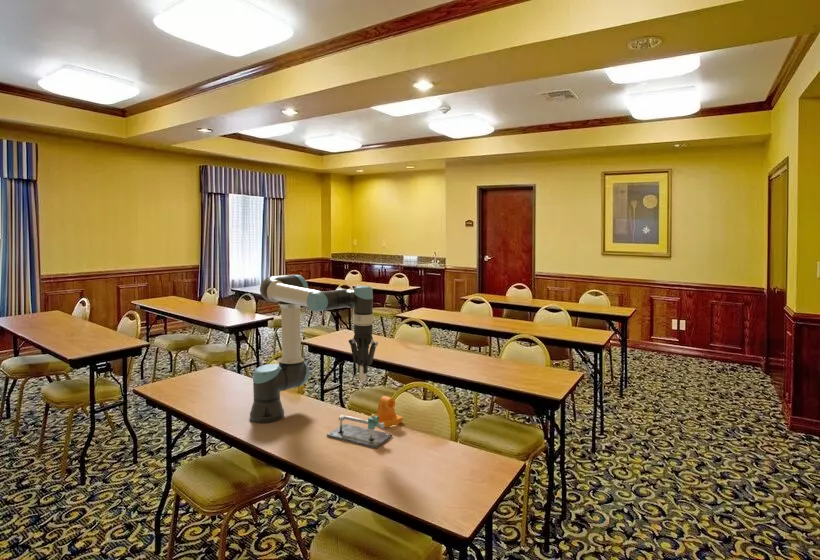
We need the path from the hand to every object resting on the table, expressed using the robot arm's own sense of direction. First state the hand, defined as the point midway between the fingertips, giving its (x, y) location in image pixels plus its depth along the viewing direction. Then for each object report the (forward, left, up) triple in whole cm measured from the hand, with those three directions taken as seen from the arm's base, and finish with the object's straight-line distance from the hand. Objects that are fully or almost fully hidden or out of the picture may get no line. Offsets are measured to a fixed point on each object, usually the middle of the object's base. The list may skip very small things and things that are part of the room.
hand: (362, 380), depth 196 cm
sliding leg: (+5, 0, -23) cm, 23 cm away
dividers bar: (0, -1, -23) cm, 23 cm away
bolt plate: (-1, 0, -24) cm, 24 cm away
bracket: (+3, +18, -25) cm, 31 cm away
